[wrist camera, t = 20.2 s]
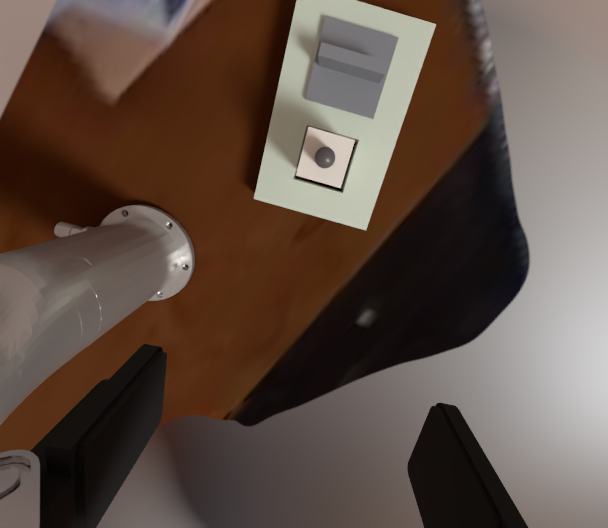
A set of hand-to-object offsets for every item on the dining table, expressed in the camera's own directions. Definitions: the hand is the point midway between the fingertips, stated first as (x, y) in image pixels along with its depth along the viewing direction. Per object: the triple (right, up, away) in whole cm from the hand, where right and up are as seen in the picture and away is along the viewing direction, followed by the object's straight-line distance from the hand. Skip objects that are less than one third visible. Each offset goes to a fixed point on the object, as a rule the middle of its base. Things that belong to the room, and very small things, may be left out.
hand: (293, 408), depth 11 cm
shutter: (+5, +24, +19) cm, 31 cm away
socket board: (+4, +21, +23) cm, 31 cm away
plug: (+3, +17, +25) cm, 30 cm away
